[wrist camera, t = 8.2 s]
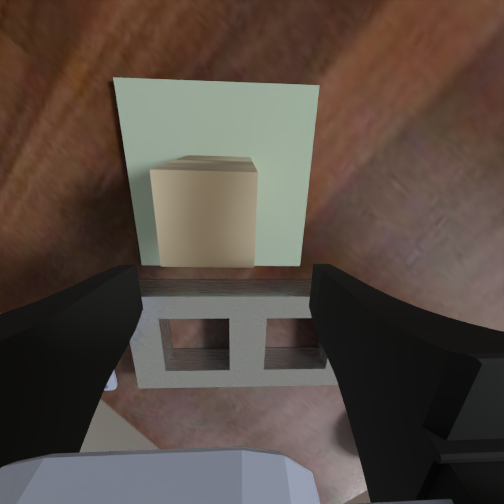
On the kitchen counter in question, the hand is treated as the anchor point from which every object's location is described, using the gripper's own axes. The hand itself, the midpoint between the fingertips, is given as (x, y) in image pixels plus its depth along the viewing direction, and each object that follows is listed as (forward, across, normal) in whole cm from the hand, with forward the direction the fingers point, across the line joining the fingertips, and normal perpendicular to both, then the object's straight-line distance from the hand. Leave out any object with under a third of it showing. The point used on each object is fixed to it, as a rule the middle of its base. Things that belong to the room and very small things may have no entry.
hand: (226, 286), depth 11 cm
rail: (+9, -1, +9) cm, 13 cm away
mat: (+9, +1, -3) cm, 10 cm away
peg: (+9, +1, -2) cm, 9 cm away
